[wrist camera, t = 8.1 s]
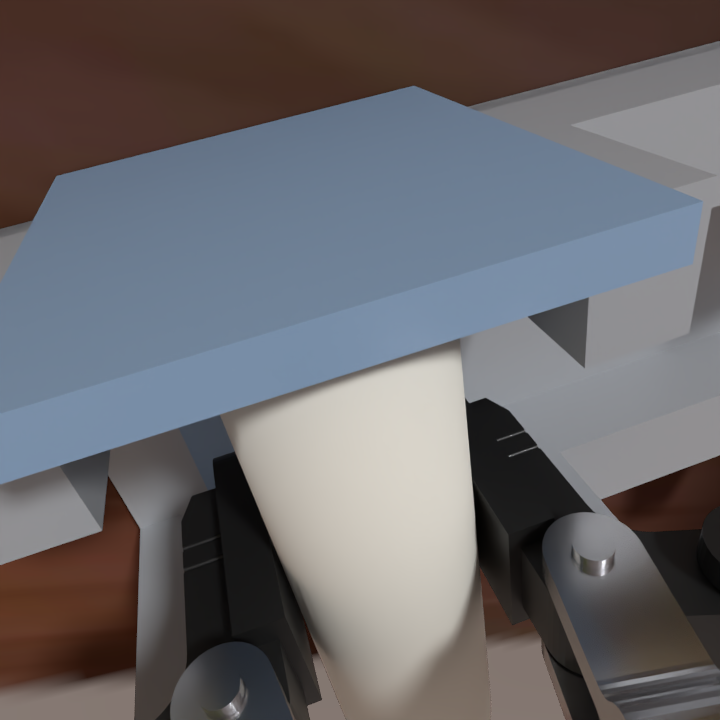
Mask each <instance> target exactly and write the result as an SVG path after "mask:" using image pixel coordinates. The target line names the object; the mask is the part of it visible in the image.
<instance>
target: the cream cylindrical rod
mask: <svg viewBox="0 0 720 720" xmlns="http://www.w3.org/2000/svg"><path fill="white" fill-rule="evenodd" d="M220 417H221V419H222V421H223V424H224V426H225V429H226V431H227V434H228V436H229V438H230V441H231V443H232V446H233V448H234V450H235V453H236V455H237V458H238V460H239V463H240V465H241V467H242V470H243V472H244V475H245V477H246V479H247V482H248V484H249V487H250V489H251V492H252V494H253V496H254V499H255V501H256V504H257V506H258V508H259V511H260V513H261V516H262V518H263V521H264V523H265V525H266V528H267V530H268V533H269V535H270V537H271V540H272V542H273V545H274V547H275V550H276V552H277V554H278V557H279V559H280V562H281V564H282V566H283V569H284V571H285V574H286V576H287V579H288V581H289V583H290V586H291V588H292V591H293V593H294V595H295V598H296V600H297V603H298V605H299V607H300V610H301V612H302V615H303V617H304V620H305V622H306V624H307V627H308V629H309V632H310V634H311V636H312V639H313V641H314V644H315V646H316V649H317V651H318V653H319V656H320V658H321V661H322V663H323V665H324V668H325V670H326V673H327V675H328V677H329V680H330V682H331V685H332V687H333V690H334V692H335V694H336V697H337V699H338V702H339V704H340V706H341V709H342V711H343V714H344V716H345V719H346V720H490V718H491V694H490V684H489V683H490V682H489V671H488V660H487V648H486V636H485V625H484V613H483V602H482V590H481V579H480V567H479V556H478V544H477V533H476V521H475V510H474V498H473V486H472V475H471V463H470V452H469V440H468V429H467V417H466V406H465V394H464V383H463V371H462V360H461V348H460V338H459V339H456V340H453V341H450V342H446V343H443V344H440V345H437V346H434V347H431V348H428V349H424V350H421V351H418V352H415V353H412V354H409V355H406V356H402V357H399V358H396V359H393V360H390V361H387V362H384V363H380V364H377V365H374V366H371V367H368V368H365V369H362V370H358V371H355V372H352V373H349V374H346V375H343V376H340V377H336V378H333V379H330V380H327V381H324V382H321V383H318V384H314V385H311V386H308V387H305V388H302V389H299V390H296V391H292V392H289V393H286V394H283V395H280V396H277V397H274V398H270V399H267V400H264V401H261V402H258V403H255V404H252V405H248V406H245V407H242V408H239V409H236V410H233V411H230V412H226V413H223V414H220Z"/></svg>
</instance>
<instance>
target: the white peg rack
mask: <svg viewBox="0 0 720 720" xmlns="http://www.w3.org/2000/svg"><path fill="white" fill-rule="evenodd" d="M459 338H460V348H461V360H462V371H463V383H464V394H465V398H466V400H467V401H468V402H469V403H471V402H474V401H477V400H480V399H483V398H487V399H489V400H491V401H493V402H495V403H496V404H498V405H500V406H502V407H504V408H506V409H508V410H509V411H510V412H511V413H512V414H513V416H514V417H515V418H516V419H517V421H518V422H519V423H520V424H521V425H522V427H523V428H524V430H525V432H526V433H528V434H529V435H530V436H531V437H532V439H533V440H534V441H535V442H536V443H537V446H538V448H541V450H542V451H543V452H544V453H545V454H546V456H547V457H548V458H549V459H550V460H551V462H552V463H553V464H554V465H555V466H556V468H557V469H558V470H559V471H560V472H561V474H562V475H563V476H564V477H565V479H566V480H567V481H568V482H569V483H570V485H571V486H572V487H573V488H574V489H575V491H576V492H577V493H578V494H579V495H580V497H581V498H582V499H583V500H584V501H585V503H586V504H587V505H588V506H589V507H590V508H591V509H592V510H593V511H594V512H595V513H598V514H602V515H606V516H609V517H611V518H614V519H616V520H617V518H616V517H615V516H614V515H613V514H612V513H611V512H610V510H609V509H608V508H607V507H606V506H605V505H604V503H603V502H602V501H601V500H600V499H603V498H606V497H608V496H611V495H614V494H617V493H619V492H622V491H625V490H627V489H630V488H633V487H635V486H638V485H641V484H644V483H646V482H649V481H652V480H654V479H657V478H660V477H662V476H665V475H668V474H670V473H673V472H676V471H679V470H681V469H684V468H687V467H689V466H692V465H695V464H697V463H700V462H703V461H705V460H708V459H711V458H714V457H716V456H719V455H720V41H718V42H714V43H710V44H707V45H703V46H699V47H695V48H691V49H687V50H684V51H680V52H676V53H672V54H668V55H664V56H661V57H657V58H653V59H649V60H645V61H641V62H638V63H634V64H630V65H626V66H622V67H619V68H615V69H611V70H607V71H603V72H599V73H596V74H592V75H588V76H584V77H580V78H576V79H573V80H569V81H565V82H561V83H557V84H553V85H550V86H546V87H542V88H538V89H534V90H531V91H527V92H523V93H519V94H515V95H511V96H508V97H504V98H500V99H496V100H492V101H488V102H485V103H481V104H477V105H473V106H469V107H466V106H463V105H461V104H458V103H456V102H453V101H451V100H448V99H446V98H443V97H441V96H438V95H436V94H433V93H431V92H428V91H426V90H423V89H421V88H418V87H416V86H411V87H407V88H403V89H399V90H395V91H391V92H387V93H383V94H379V95H375V96H371V97H367V98H363V99H360V100H356V101H352V102H348V103H344V104H340V105H336V106H332V107H328V108H324V109H320V110H316V111H312V112H308V113H304V114H300V115H296V116H292V117H288V118H284V119H280V120H276V121H272V122H269V123H265V124H261V125H257V126H253V127H249V128H245V129H241V130H237V131H233V132H229V133H225V134H221V135H217V136H213V137H209V138H205V139H201V140H197V141H193V142H189V143H185V144H181V145H178V146H174V147H170V148H166V149H162V150H158V151H154V152H150V153H146V154H142V155H138V156H134V157H130V158H126V159H122V160H118V161H114V162H110V163H106V164H102V165H98V166H94V167H90V168H86V169H83V170H79V171H75V172H71V173H67V174H63V175H59V176H56V178H55V180H54V182H53V184H52V185H51V187H50V189H49V191H48V193H47V195H46V197H45V199H44V201H43V203H42V205H41V206H40V208H39V210H38V212H37V214H36V216H35V218H34V220H33V221H29V222H25V223H22V224H18V225H14V226H10V227H6V228H2V229H0V565H2V564H5V563H7V562H10V561H13V560H16V559H19V558H22V557H25V556H28V555H31V554H34V553H37V552H40V551H43V550H46V549H49V548H52V547H55V546H58V545H61V544H64V543H67V542H70V541H73V540H76V539H79V538H82V537H85V536H88V535H91V534H94V533H97V532H100V531H102V529H103V519H104V509H105V499H106V489H107V479H108V476H109V478H110V479H111V481H112V483H113V484H114V486H115V488H116V489H117V491H118V492H119V494H120V496H121V497H122V499H123V501H124V502H125V504H126V506H127V507H128V509H129V511H130V512H131V514H132V516H133V517H134V519H135V521H136V522H137V524H138V526H139V527H140V558H139V590H138V622H137V654H136V686H135V718H134V720H155V719H156V718H157V717H158V716H159V715H160V714H161V713H162V712H163V711H164V710H165V708H166V707H167V706H168V705H169V703H170V702H171V700H172V696H173V693H174V690H175V687H176V685H177V683H178V681H179V679H180V677H181V676H182V674H183V673H184V672H185V668H186V663H187V643H186V620H185V597H184V574H183V573H184V569H183V552H184V551H183V547H182V529H181V521H182V518H183V516H184V514H185V511H186V509H187V506H188V504H189V502H190V499H191V497H192V496H193V495H196V494H199V493H202V492H205V491H208V490H211V489H214V488H215V480H214V472H213V458H216V457H219V456H222V455H225V454H228V453H231V452H234V451H235V450H234V448H233V446H232V443H231V441H230V438H229V436H228V434H227V431H226V429H225V426H224V424H223V421H222V419H221V417H220V414H223V413H226V412H230V411H233V410H236V409H239V408H242V407H245V406H248V405H252V404H255V403H258V402H261V401H264V400H267V399H270V398H274V397H277V396H280V395H283V394H286V393H289V392H292V391H296V390H299V389H302V388H305V387H308V386H311V385H314V384H318V383H321V382H324V381H327V380H330V379H333V378H336V377H340V376H343V375H346V374H349V373H352V372H355V371H358V370H362V369H365V368H368V367H371V366H374V365H377V364H380V363H384V362H387V361H390V360H393V359H396V358H399V357H402V356H406V355H409V354H412V353H415V352H418V351H421V350H424V349H428V348H431V347H434V346H437V345H440V344H443V343H446V342H450V341H453V340H456V339H459Z"/></svg>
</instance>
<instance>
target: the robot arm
mask: <svg viewBox="0 0 720 720" xmlns="http://www.w3.org/2000/svg"><path fill="white" fill-rule="evenodd" d="M465 406H466V417H467V429H468V440H469V452H470V463H471V475H472V486H473V498H474V510H475V521H476V533H477V544H478V556H479V566H480V568H481V569H482V571H483V573H484V575H485V577H486V578H487V580H488V582H489V584H490V586H491V587H492V589H493V591H494V593H495V595H496V596H497V598H498V600H499V602H500V604H501V606H502V607H503V609H504V611H505V613H506V615H507V616H508V618H509V620H510V622H511V624H512V625H515V624H517V623H520V622H522V621H525V620H527V619H530V620H531V621H532V623H533V625H534V627H535V628H536V630H537V632H538V633H539V635H540V637H541V638H542V654H543V658H544V661H545V664H546V666H547V669H548V672H549V675H550V678H551V680H552V683H553V686H554V689H555V691H556V694H557V697H558V700H559V703H560V705H561V708H562V711H563V714H564V716H565V719H566V720H720V506H719V507H717V508H716V509H714V510H712V511H711V512H710V513H709V514H708V515H707V517H706V518H705V520H704V523H703V526H702V529H698V530H681V531H663V532H642V531H635V530H631V529H630V528H628V527H627V526H626V525H624V524H623V523H621V522H619V521H618V520H616V519H614V518H611V517H609V516H606V515H602V514H598V513H595V512H594V511H593V510H592V509H591V508H590V507H589V506H588V505H587V504H586V503H585V501H584V500H583V499H582V498H581V497H580V495H579V494H578V493H577V492H576V491H575V489H574V488H573V487H572V486H571V485H570V483H569V482H568V481H567V480H566V479H565V477H564V476H563V475H562V474H561V472H560V471H559V470H558V469H557V468H556V466H555V465H554V464H553V463H552V462H551V460H550V459H549V458H548V457H547V456H546V454H545V453H544V452H543V451H542V450H541V448H538V446H537V443H536V442H535V441H534V440H533V439H532V437H531V436H530V435H529V434H528V433H526V432H525V430H524V428H523V427H522V425H521V424H520V423H519V422H518V421H517V419H516V418H515V417H514V416H513V414H512V413H511V412H510V411H509V410H508V409H506V408H504V407H502V406H500V405H498V404H496V403H495V402H493V401H491V400H489V399H487V398H483V399H480V400H477V401H474V402H471V403H469V402H468V401H467V400H466V398H465ZM213 472H214V480H215V488H214V489H211V490H208V491H205V492H202V493H199V494H196V495H193V496H192V497H191V499H190V502H189V504H188V506H187V509H186V511H185V514H184V516H183V518H182V521H181V529H182V547H183V551H184V552H183V569H184V573H183V574H184V597H185V620H186V643H187V663H186V668H185V672H184V673H183V674H182V676H181V677H180V679H179V681H178V683H177V685H176V687H175V690H174V693H173V696H172V700H171V702H170V703H169V705H168V706H167V707H166V708H165V710H164V711H163V712H162V713H161V714H160V715H159V716H158V717H157V718H156V719H155V720H310V718H309V713H308V708H307V706H308V705H310V704H312V703H315V702H318V701H320V700H322V698H321V694H320V689H319V685H318V681H317V677H316V672H315V668H314V663H313V659H312V655H311V650H310V646H309V642H308V637H307V633H306V629H305V624H304V620H303V615H302V612H301V610H300V607H299V605H298V603H297V600H296V598H295V595H294V593H293V591H292V588H291V586H290V583H289V581H288V579H287V576H286V574H285V571H284V569H283V566H282V564H281V562H280V559H279V557H278V554H277V552H276V550H275V547H274V545H273V542H272V540H271V537H270V535H269V533H268V530H267V528H266V525H265V523H264V521H263V518H262V516H261V513H260V511H259V508H258V506H257V504H256V501H255V499H254V496H253V494H252V492H251V489H250V487H249V484H248V482H247V479H246V477H245V475H244V472H243V470H242V467H241V465H240V463H239V460H238V458H237V455H236V453H235V451H234V452H231V453H228V454H225V455H222V456H219V457H216V458H213Z"/></svg>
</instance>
